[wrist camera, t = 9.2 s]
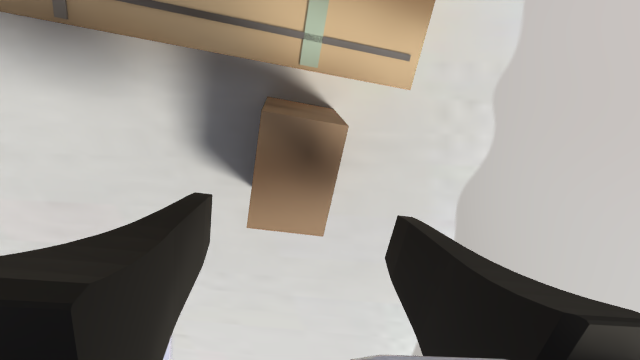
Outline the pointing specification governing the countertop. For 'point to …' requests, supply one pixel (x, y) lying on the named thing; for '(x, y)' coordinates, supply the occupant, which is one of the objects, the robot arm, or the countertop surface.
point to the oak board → (266, 30)
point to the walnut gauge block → (295, 167)
